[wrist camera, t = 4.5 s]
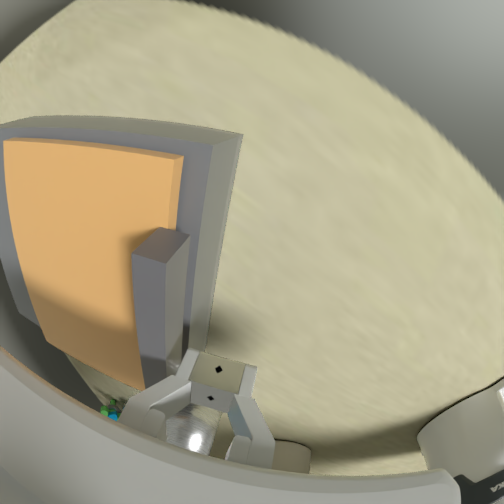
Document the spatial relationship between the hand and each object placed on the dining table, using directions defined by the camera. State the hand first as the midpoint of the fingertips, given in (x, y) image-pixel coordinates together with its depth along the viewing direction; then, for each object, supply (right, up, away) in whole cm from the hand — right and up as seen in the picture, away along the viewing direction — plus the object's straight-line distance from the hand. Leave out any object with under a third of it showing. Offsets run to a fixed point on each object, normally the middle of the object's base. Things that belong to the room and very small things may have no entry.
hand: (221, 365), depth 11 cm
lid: (-7, +3, +2) cm, 8 cm away
